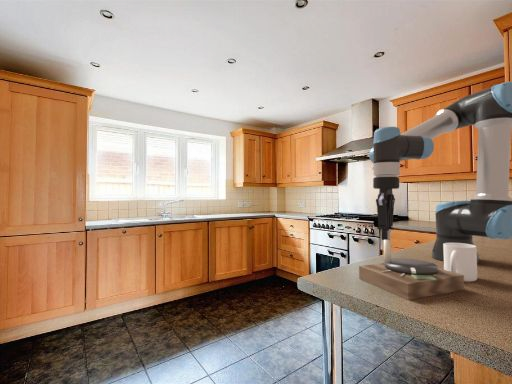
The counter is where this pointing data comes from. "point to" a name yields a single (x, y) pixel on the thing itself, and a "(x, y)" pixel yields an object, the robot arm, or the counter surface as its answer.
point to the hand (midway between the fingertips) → (385, 249)
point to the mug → (461, 260)
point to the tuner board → (411, 281)
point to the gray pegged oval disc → (407, 263)
